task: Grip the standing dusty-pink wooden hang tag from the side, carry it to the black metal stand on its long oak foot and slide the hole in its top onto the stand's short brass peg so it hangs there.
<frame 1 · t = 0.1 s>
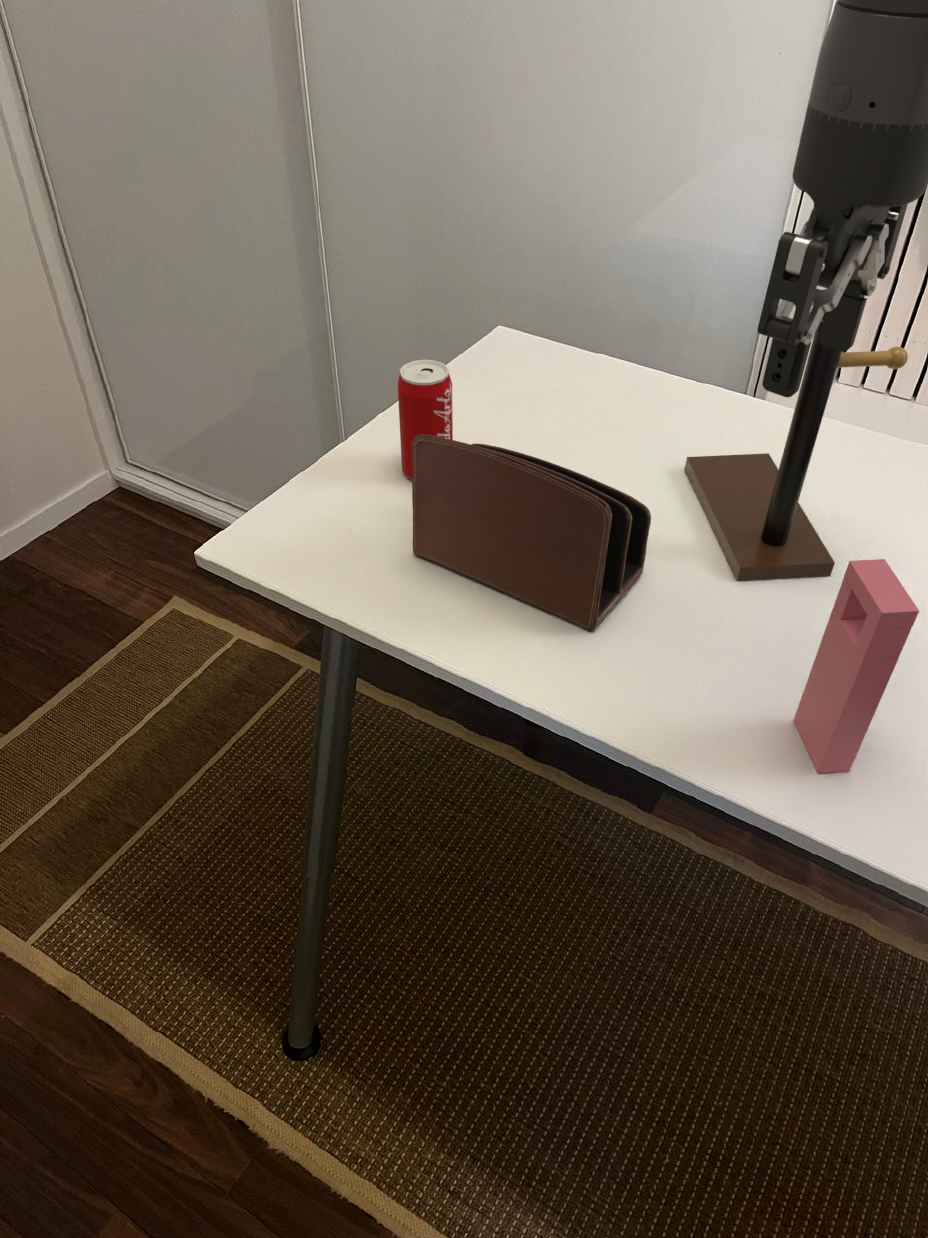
hand: (808, 368, 63), 26 cm above the table, tool pointing down, fingers open, 8 cm apart
soda can: (427, 472, 102), on the table
hang tag: (820, 745, 73), on the table
stand: (725, 467, 102), on the table
letter holder: (526, 566, 89), on the table
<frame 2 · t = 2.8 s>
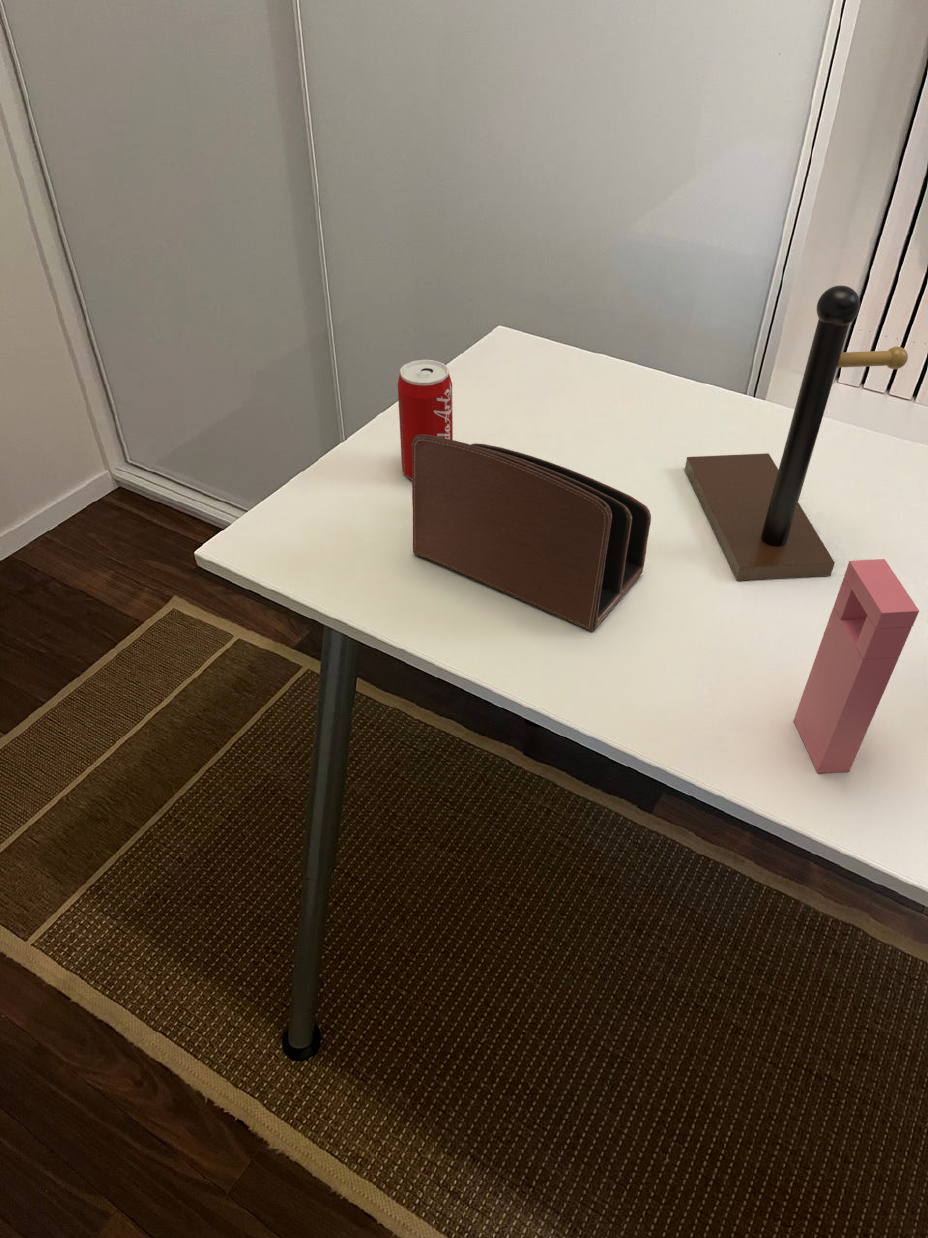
nothing on the table moved.
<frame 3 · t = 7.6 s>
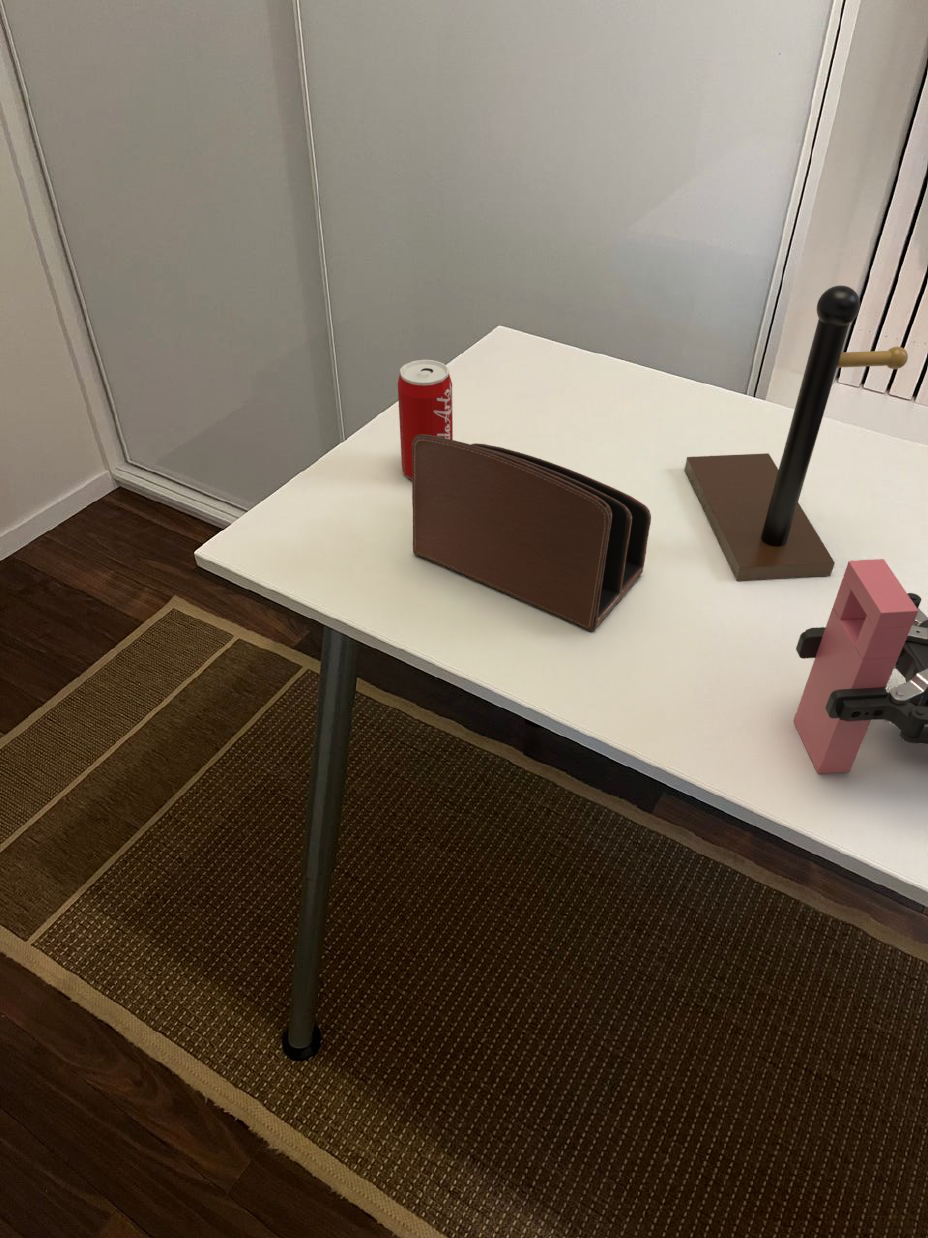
hand: (815, 674, 67), 8 cm above the table, tool horizontal, fingers closed on hang tag, 5 cm apart
hang tag: (820, 745, 73), on the table, touching gripper
everything else where it was.
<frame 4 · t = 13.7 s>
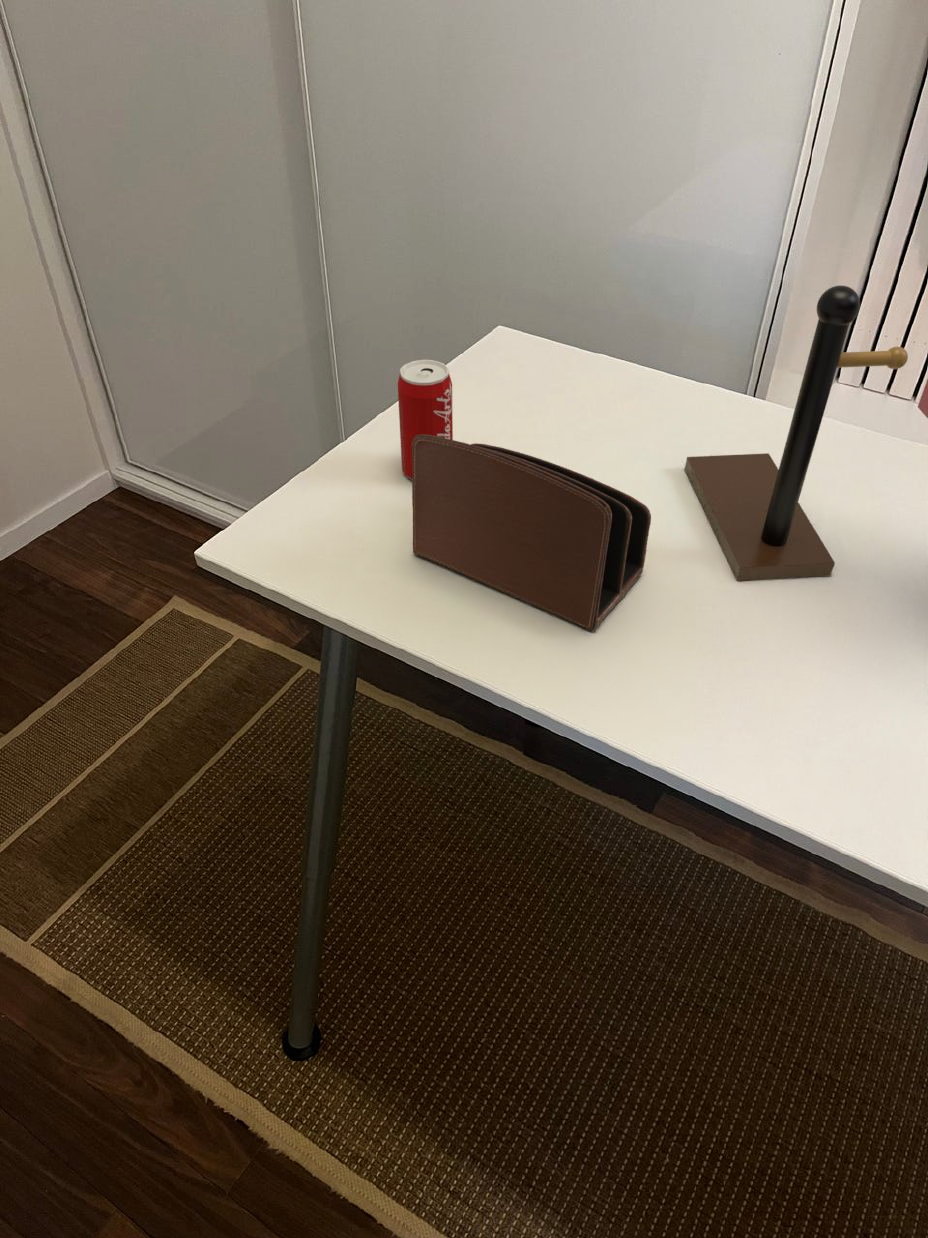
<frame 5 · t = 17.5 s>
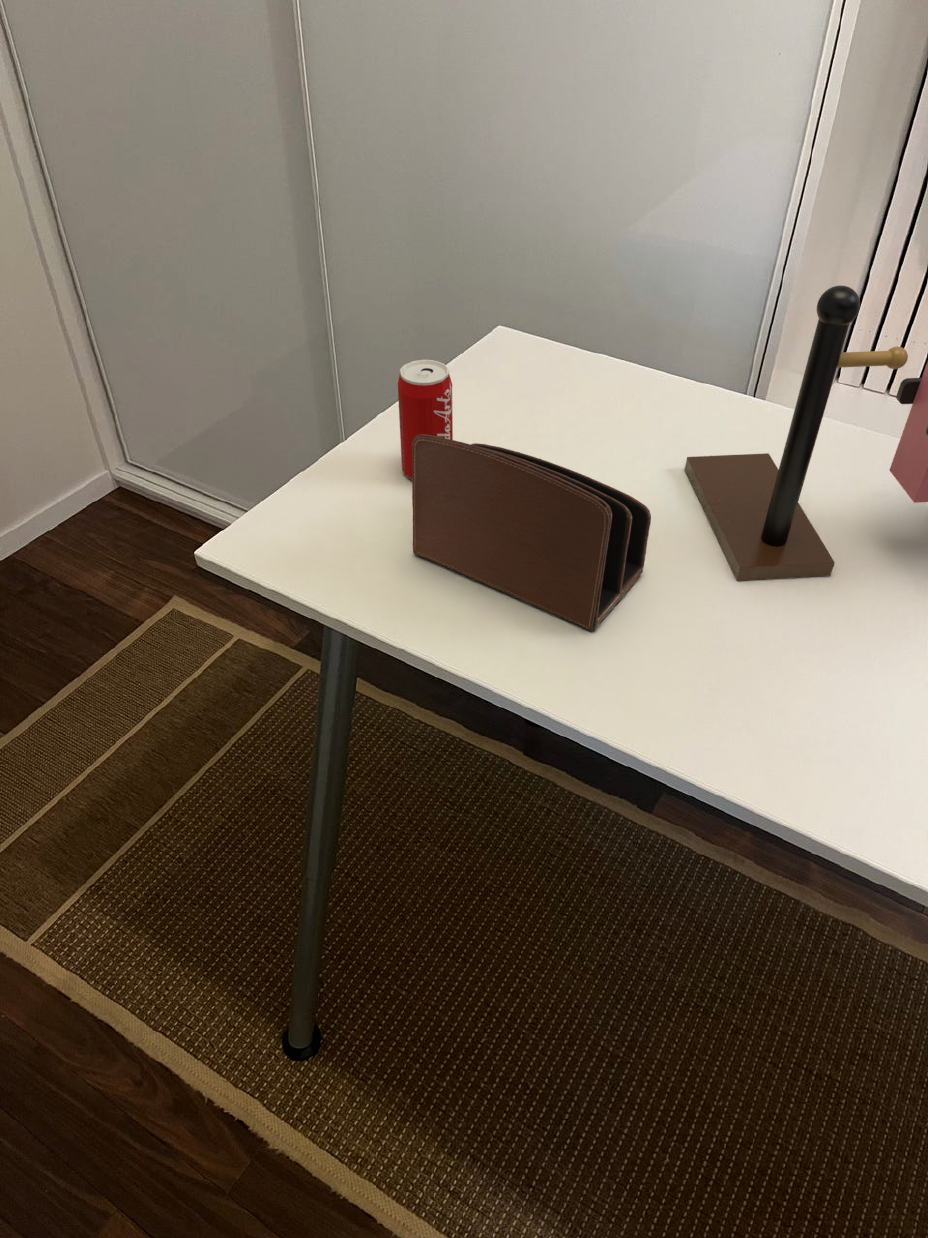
hand: (915, 408, 81), 15 cm above the table, tool horizontal, fingers closed on hang tag, 5 cm apart
hang tag: (914, 485, 87), point 7 cm above the table, touching gripper
everything else where it was.
when the fingers open (14 cm above the table, at t = 20.1 s): hang tag stays where it is, resting on stand.
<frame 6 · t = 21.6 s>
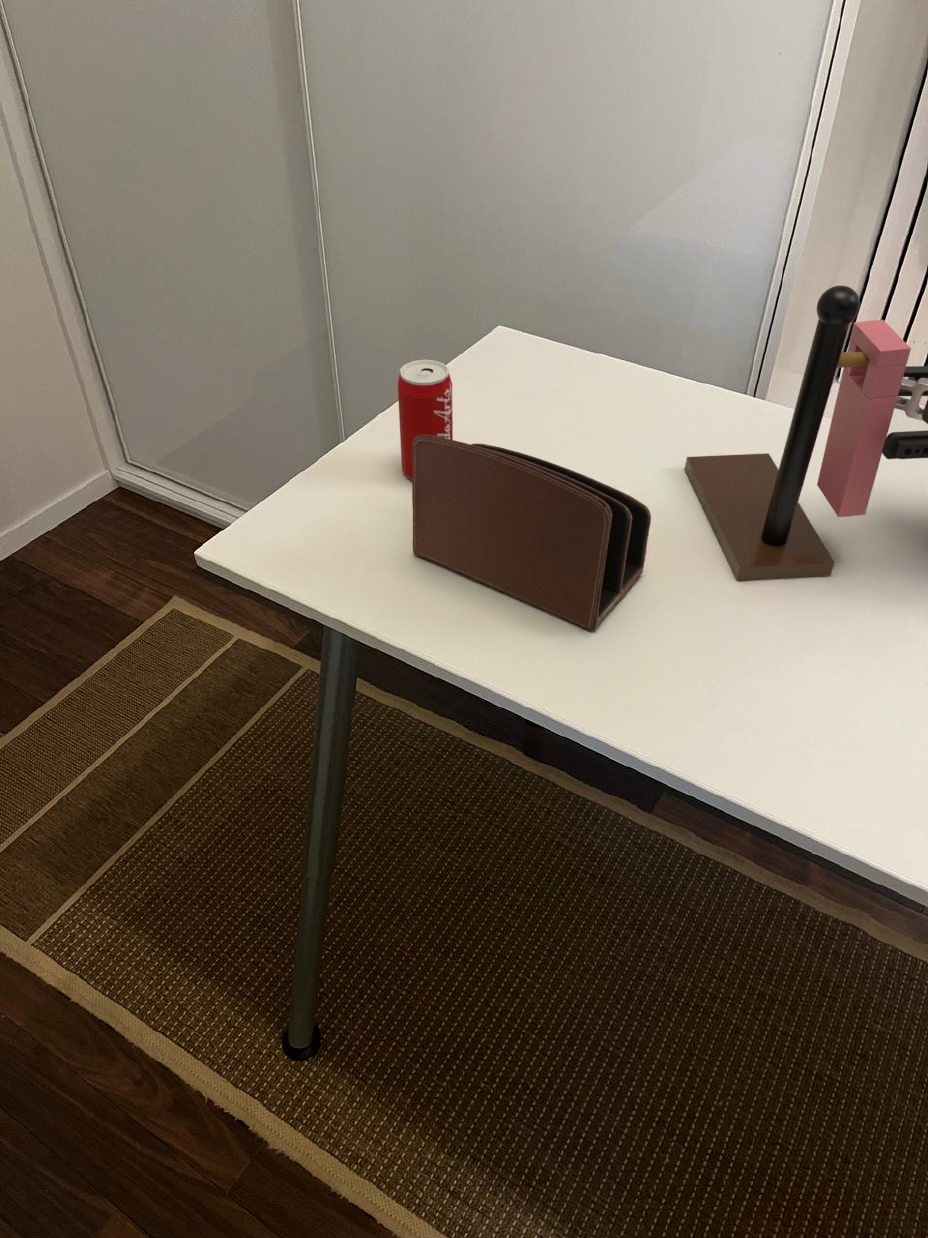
hand: (865, 419, 82), 14 cm above the table, tool horizontal, fingers open, 8 cm apart
hang tag: (840, 499, 87), point 6 cm above the table, touching stand
everything else where it was.
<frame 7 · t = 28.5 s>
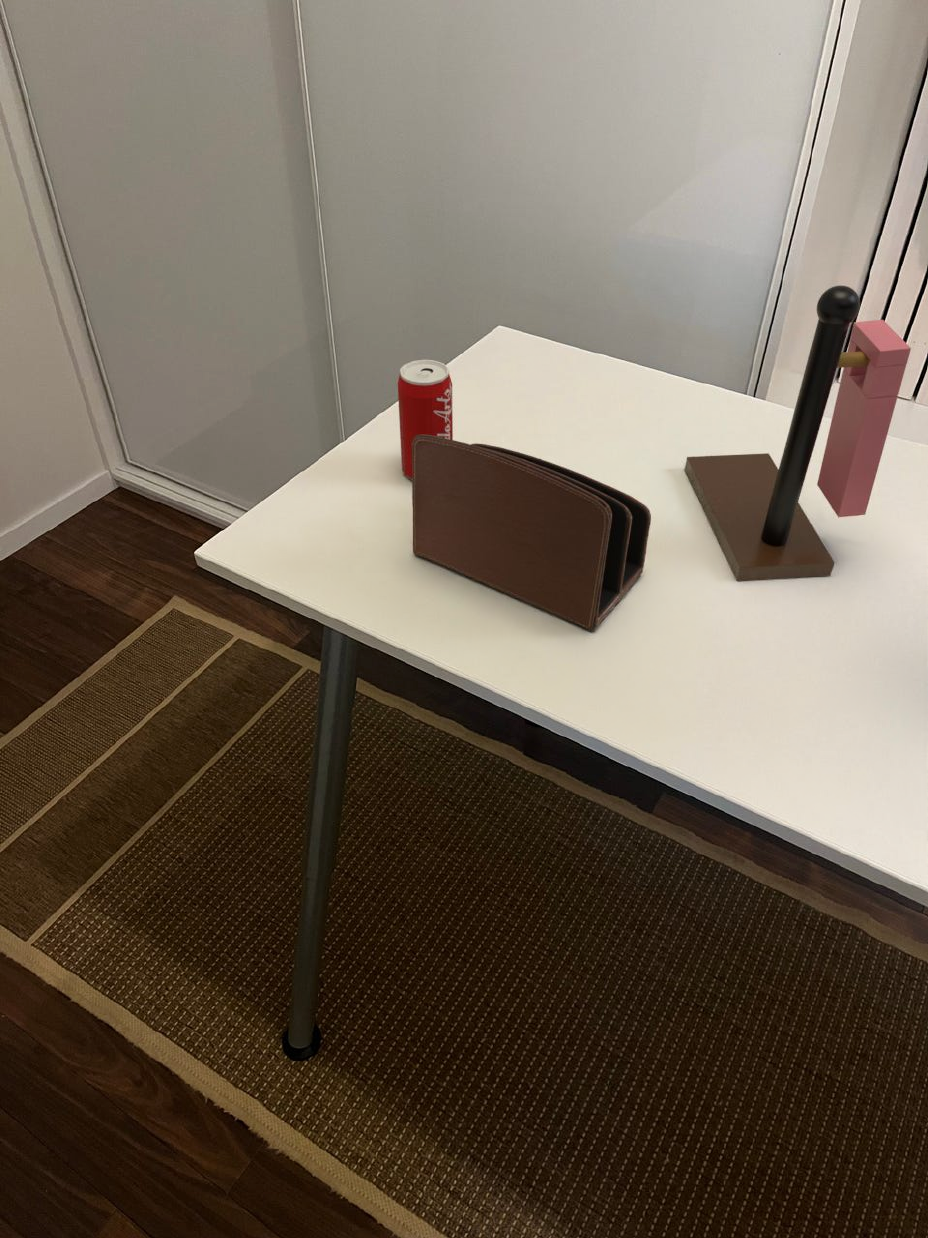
nothing on the table moved.
at the end: hang tag 1.4 cm from the target spot on the stand, point 5.9 cm above the stand's base; hang tag touching stand; the gripper is holding nothing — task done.
